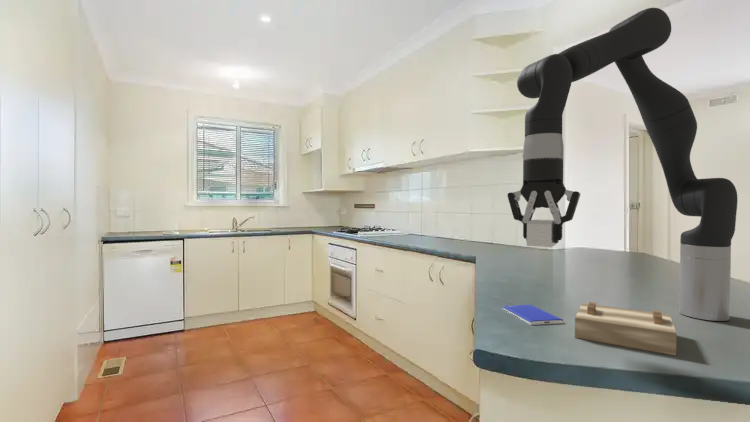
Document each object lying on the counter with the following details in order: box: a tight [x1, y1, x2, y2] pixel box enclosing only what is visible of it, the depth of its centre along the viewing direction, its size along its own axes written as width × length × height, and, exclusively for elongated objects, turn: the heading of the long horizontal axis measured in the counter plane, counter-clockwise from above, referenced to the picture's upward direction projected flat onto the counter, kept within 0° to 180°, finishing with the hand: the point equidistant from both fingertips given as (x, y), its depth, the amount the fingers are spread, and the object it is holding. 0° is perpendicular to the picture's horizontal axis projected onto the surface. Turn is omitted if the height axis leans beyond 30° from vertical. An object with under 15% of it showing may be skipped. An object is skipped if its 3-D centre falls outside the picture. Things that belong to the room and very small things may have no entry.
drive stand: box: [574, 301, 678, 356], centre depth 77 cm, size 14×16×6 cm
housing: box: [526, 219, 558, 248], centre depth 77 cm, size 8×4×5 cm, turn 147°
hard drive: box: [502, 304, 564, 326], centre depth 91 cm, size 2×8×12 cm
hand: (542, 241), depth 77 cm, fingers closed on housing, 4 cm apart
